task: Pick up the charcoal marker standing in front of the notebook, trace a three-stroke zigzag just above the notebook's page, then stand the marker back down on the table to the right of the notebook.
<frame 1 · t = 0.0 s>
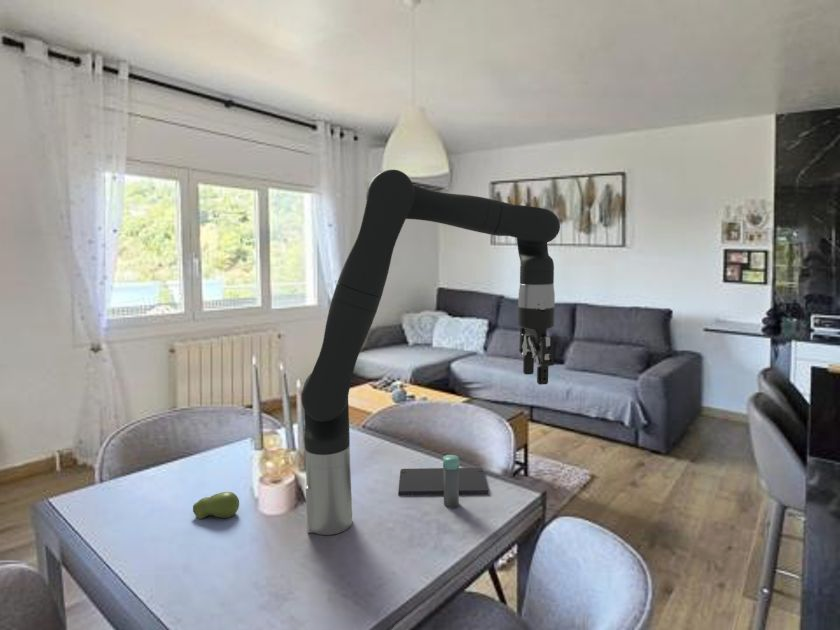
hand: (535, 378, 114), 29 cm above the table, tool pointing down, fingers open, 8 cm apart
notebook: (442, 485, 130), on the table
marker: (451, 504, 119), on the table
pear: (216, 516, 116), on the table
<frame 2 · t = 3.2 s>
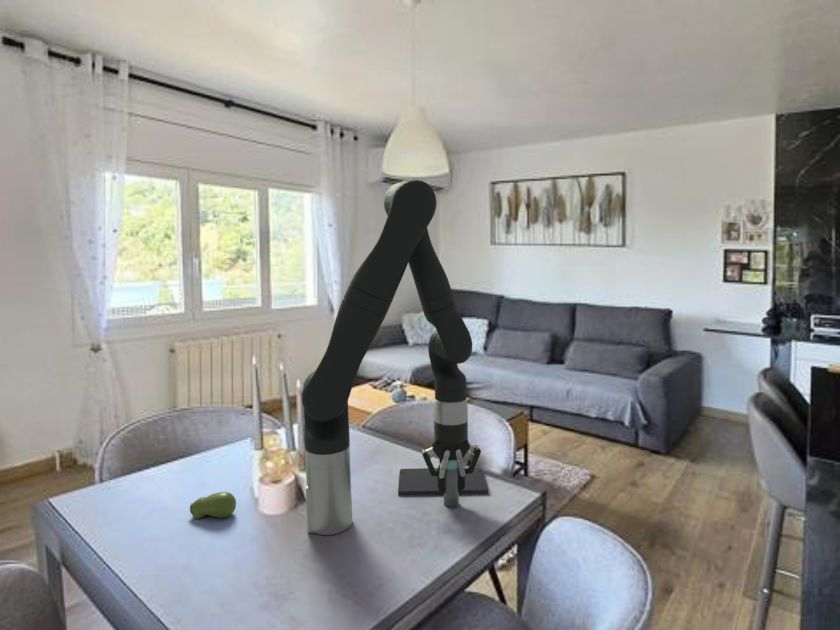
hand: (451, 490, 119), 3 cm above the table, tool pointing down, fingers closed on marker, 3 cm apart
marker: (451, 504, 119), on the table, touching gripper
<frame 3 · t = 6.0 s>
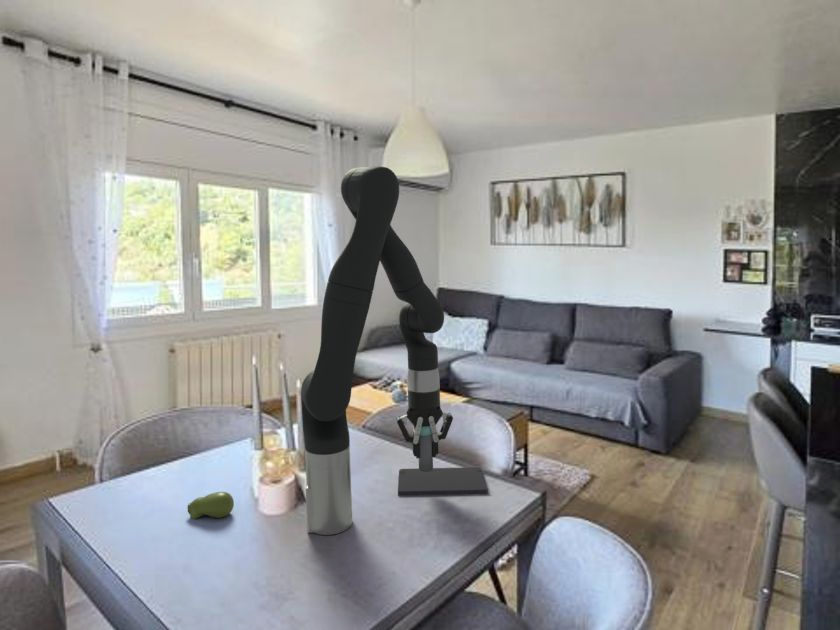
hand: (425, 456, 125), 9 cm above the table, tool pointing down, fingers closed on marker, 3 cm apart
marker: (426, 468, 125), point 5 cm above the table, touching gripper
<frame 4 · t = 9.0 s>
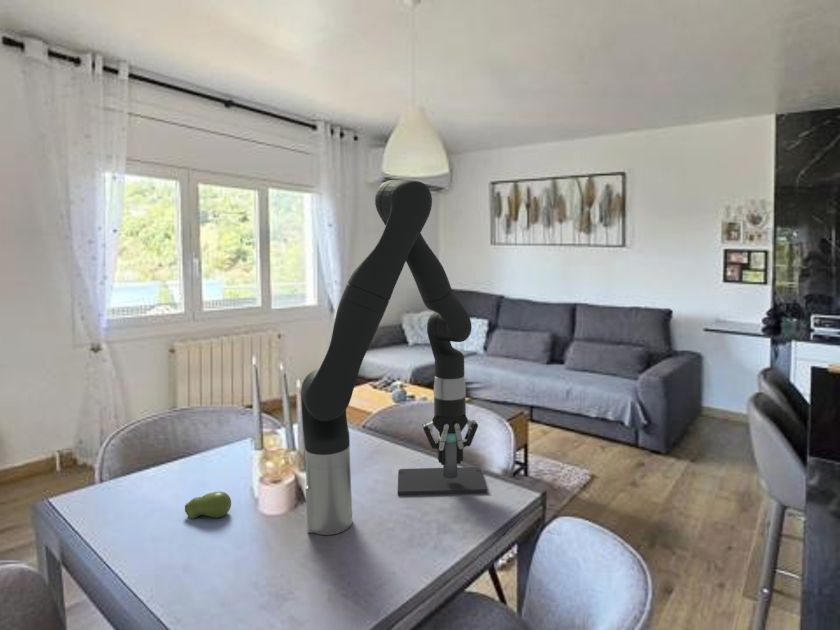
hand: (450, 462, 127), 6 cm above the table, tool pointing down, fingers closed on marker, 3 cm apart
marker: (450, 475, 128), point 3 cm above the table, touching gripper
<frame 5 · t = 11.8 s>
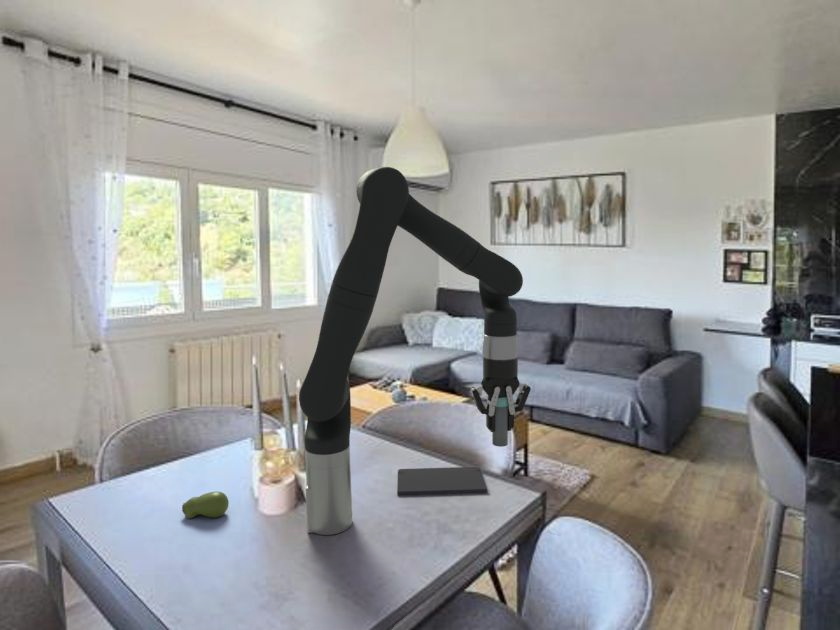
hand: (500, 429, 117), 17 cm above the table, tool pointing down, fingers closed on marker, 3 cm apart
marker: (500, 443, 117), point 14 cm above the table, touching gripper
when the fingers open (4 cm above the table, at t = 14.6 s): marker stays where it is, on the table.
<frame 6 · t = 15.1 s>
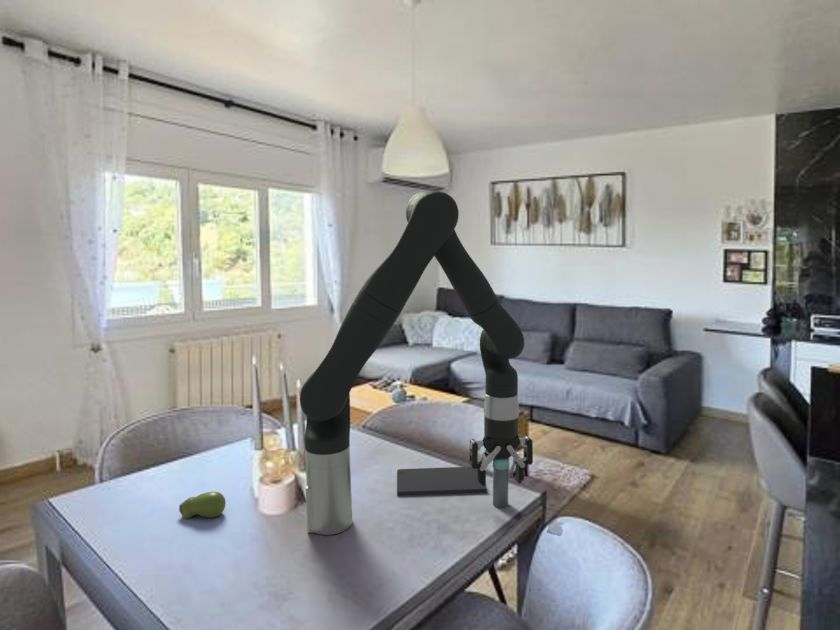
hand: (500, 483, 118), 5 cm above the table, tool pointing down, fingers open, 8 cm apart
marker: (500, 504, 119), on the table
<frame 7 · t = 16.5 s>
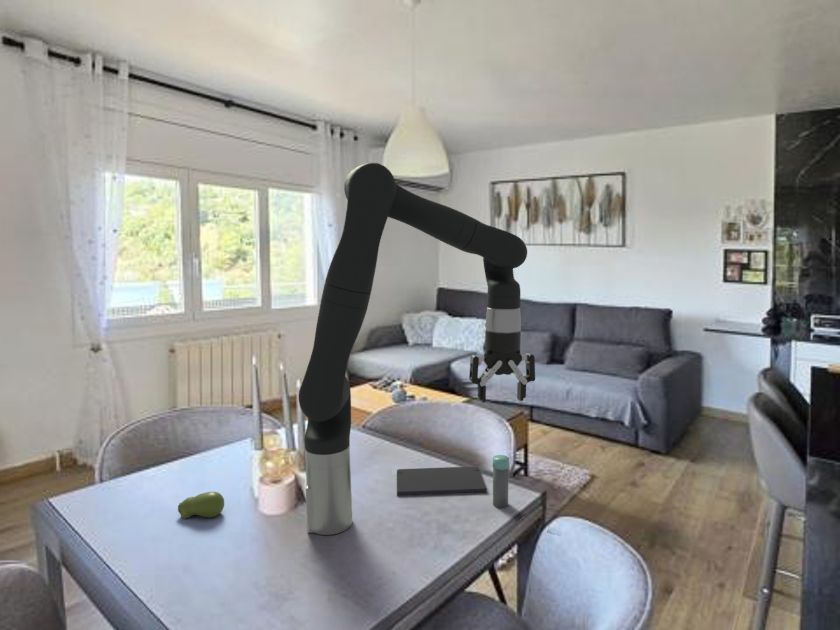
hand: (501, 400, 116), 24 cm above the table, tool pointing down, fingers open, 8 cm apart
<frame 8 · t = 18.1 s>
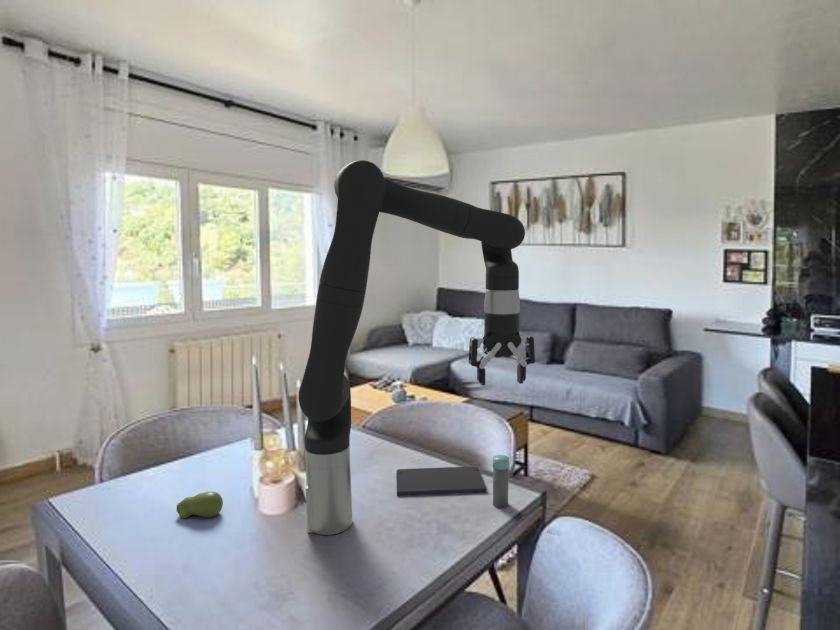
hand: (501, 383, 115), 28 cm above the table, tool pointing down, fingers open, 8 cm apart
at the end: marker inside the target area (0.1 cm from its centre), on the table; marker tilted 0°; notebook moved 1.1 cm from its start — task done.
